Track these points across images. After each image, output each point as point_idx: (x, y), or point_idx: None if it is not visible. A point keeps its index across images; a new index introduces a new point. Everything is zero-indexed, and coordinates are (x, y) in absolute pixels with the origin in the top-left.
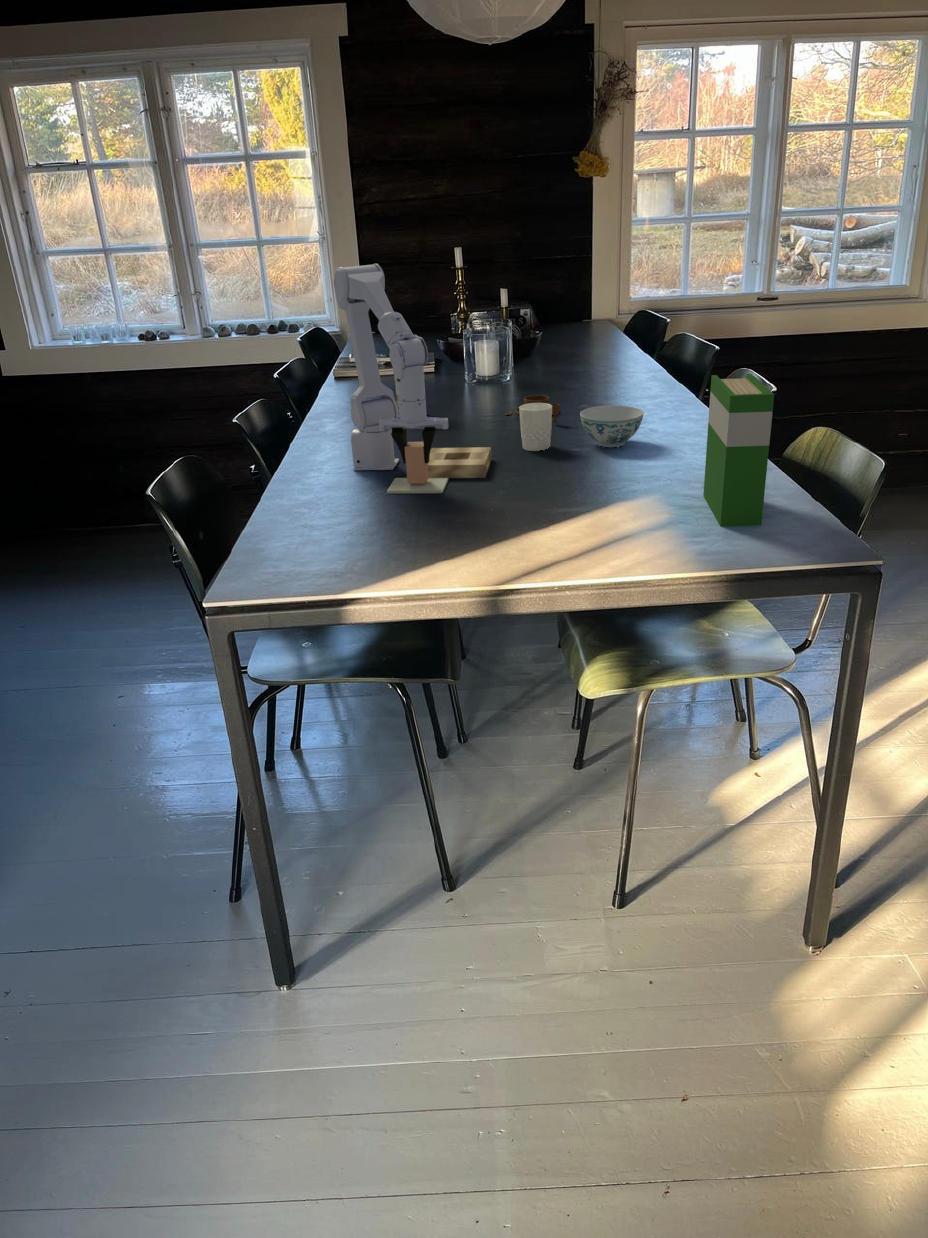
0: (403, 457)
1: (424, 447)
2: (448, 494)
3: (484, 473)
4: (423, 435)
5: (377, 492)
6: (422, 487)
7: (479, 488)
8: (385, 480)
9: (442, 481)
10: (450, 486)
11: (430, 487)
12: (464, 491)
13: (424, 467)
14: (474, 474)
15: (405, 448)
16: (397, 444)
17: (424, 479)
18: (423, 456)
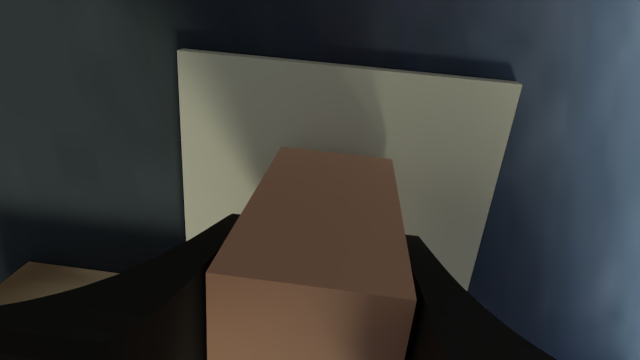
0: (424, 253)
1: (194, 270)
2: (145, 19)
3: (15, 273)
4: (96, 331)
5: (576, 111)
6: (302, 121)
7: (5, 107)
8: (514, 301)
9: (205, 207)
10: (163, 160)
11: (255, 114)
12: (69, 65)
13: (260, 184)
14: (65, 276)
15: (405, 288)
16: (509, 328)
17: (283, 154)
18: (238, 220)
